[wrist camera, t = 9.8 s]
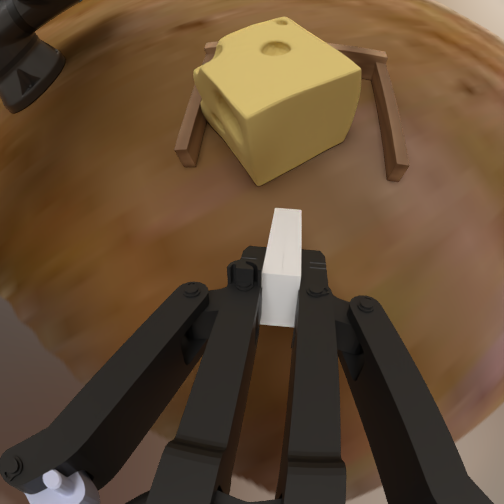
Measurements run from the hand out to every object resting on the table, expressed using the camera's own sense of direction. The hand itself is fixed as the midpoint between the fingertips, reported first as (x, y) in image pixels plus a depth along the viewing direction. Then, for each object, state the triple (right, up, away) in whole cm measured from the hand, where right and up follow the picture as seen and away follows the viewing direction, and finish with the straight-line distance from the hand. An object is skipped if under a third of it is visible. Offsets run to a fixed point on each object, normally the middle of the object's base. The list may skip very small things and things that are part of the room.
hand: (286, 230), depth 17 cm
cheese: (0, +11, +10) cm, 15 cm away
